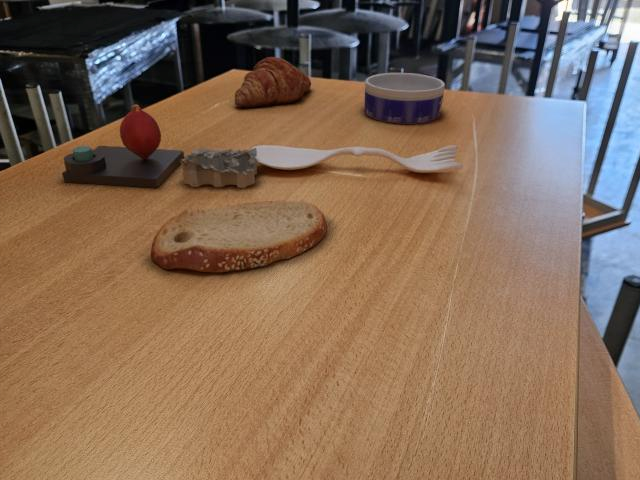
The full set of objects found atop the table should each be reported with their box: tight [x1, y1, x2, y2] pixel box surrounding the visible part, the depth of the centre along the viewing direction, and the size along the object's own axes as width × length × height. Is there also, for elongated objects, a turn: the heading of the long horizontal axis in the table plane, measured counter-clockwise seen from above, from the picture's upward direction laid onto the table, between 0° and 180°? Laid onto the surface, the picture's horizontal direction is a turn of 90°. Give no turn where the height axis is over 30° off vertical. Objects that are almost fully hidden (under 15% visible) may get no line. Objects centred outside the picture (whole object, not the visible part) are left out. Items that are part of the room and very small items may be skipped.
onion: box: [119, 104, 162, 159], centre depth 85 cm, size 6×6×8 cm
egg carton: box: [180, 147, 258, 189], centre depth 84 cm, size 11×8×4 cm
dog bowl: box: [364, 72, 446, 125], centre depth 112 cm, size 15×15×6 cm
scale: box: [61, 145, 185, 189], centre depth 86 cm, size 14×12×3 cm
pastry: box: [234, 56, 312, 109], centre depth 119 cm, size 17×15×8 cm
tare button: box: [72, 145, 94, 161], centre depth 83 cm, size 3×3×2 cm
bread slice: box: [150, 199, 328, 274], centre depth 68 cm, size 18×18×4 cm
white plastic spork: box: [251, 144, 464, 174], centre depth 87 cm, size 9×32×4 cm, turn 85°
